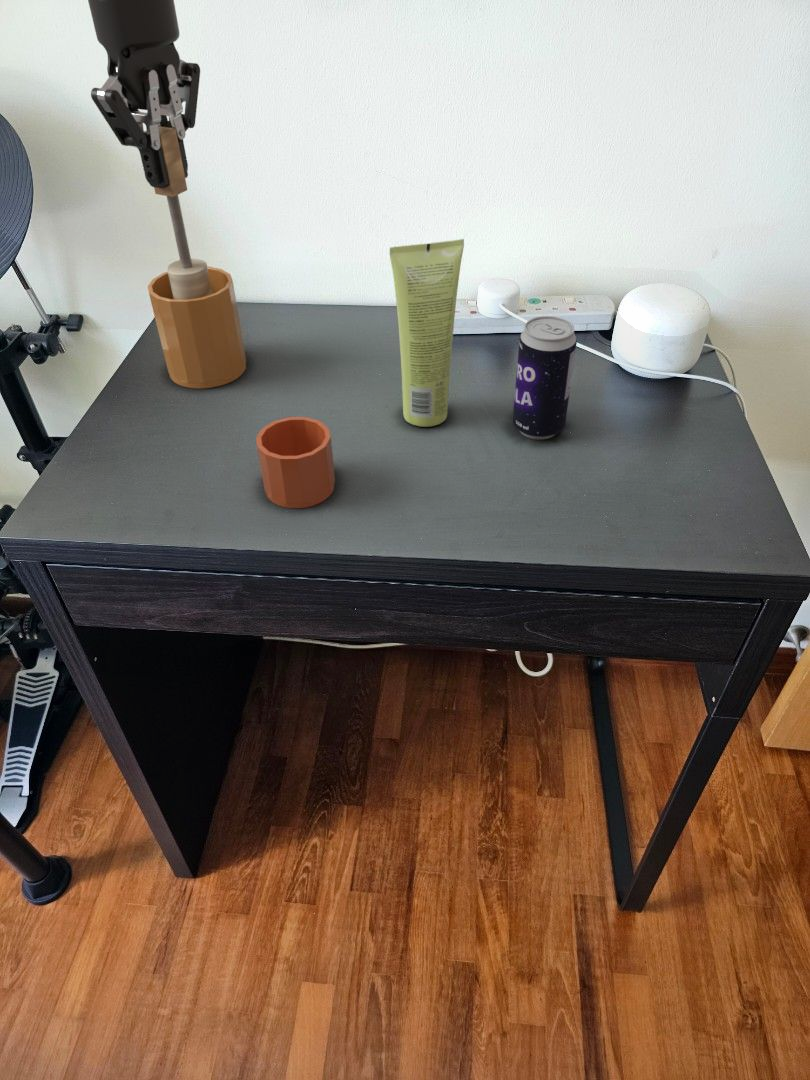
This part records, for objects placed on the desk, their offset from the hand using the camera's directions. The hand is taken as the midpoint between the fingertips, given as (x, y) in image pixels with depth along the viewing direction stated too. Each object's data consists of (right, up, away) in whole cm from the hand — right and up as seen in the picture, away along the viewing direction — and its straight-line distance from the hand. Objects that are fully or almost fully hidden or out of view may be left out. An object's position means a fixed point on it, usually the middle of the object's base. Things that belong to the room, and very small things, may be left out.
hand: (168, 181), depth 83 cm
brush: (0, -11, +10) cm, 15 cm away
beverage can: (+39, -25, +4) cm, 47 cm away
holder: (+14, -32, -3) cm, 35 cm away
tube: (+27, -24, +6) cm, 37 cm away
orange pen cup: (0, -16, +15) cm, 22 cm away
